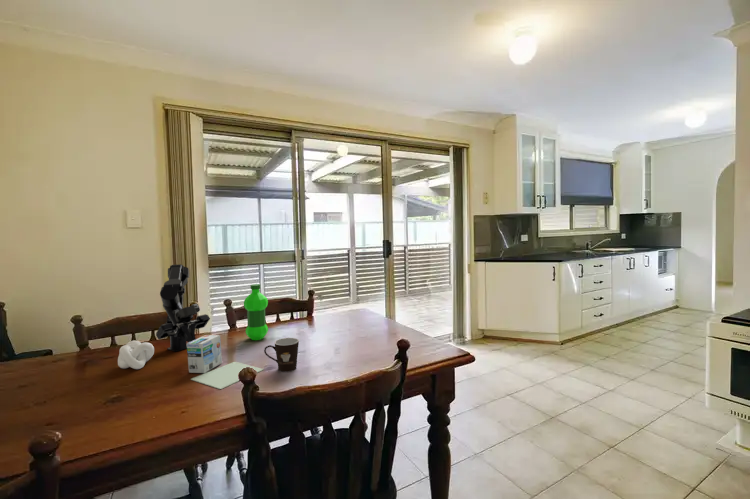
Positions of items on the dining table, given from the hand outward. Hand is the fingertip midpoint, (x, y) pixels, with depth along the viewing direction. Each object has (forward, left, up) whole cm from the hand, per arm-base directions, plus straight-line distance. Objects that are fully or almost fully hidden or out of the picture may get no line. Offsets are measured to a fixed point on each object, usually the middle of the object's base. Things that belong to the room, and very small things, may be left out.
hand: (194, 343), depth 137 cm
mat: (+18, 0, -8) cm, 20 cm away
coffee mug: (+31, +14, -8) cm, 35 cm away
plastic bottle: (-5, +34, -8) cm, 35 cm away
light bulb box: (+6, 0, -8) cm, 10 cm away
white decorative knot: (-19, -11, -8) cm, 23 cm away
